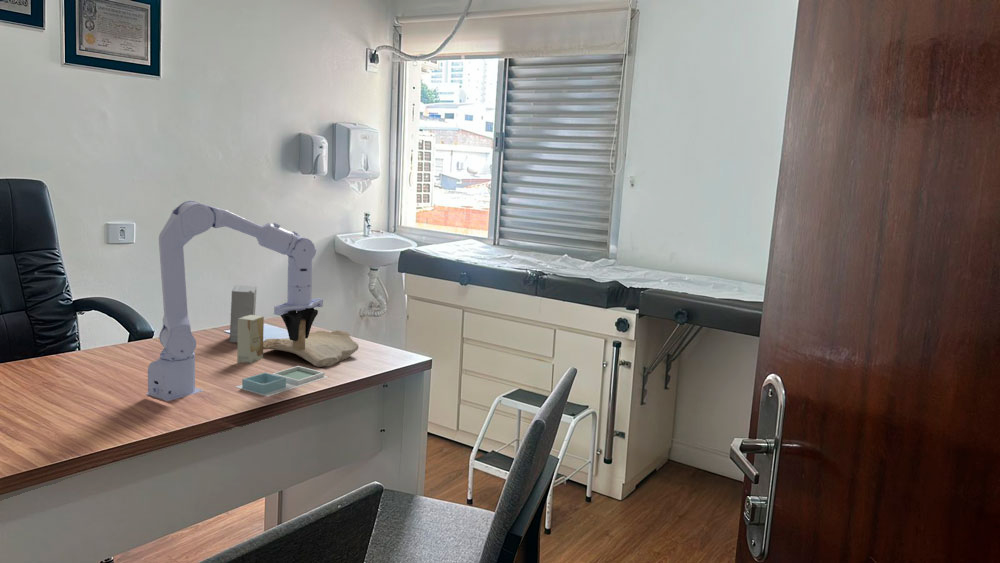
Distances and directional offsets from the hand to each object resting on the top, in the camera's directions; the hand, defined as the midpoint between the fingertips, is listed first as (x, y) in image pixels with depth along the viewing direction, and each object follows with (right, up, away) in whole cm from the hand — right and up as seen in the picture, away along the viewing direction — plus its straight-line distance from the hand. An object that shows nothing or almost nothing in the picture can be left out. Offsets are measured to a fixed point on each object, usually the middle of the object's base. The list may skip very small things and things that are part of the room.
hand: (298, 338), depth 177 cm
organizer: (-3, -11, -3) cm, 12 cm away
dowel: (0, -3, 0) cm, 3 cm away
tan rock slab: (-4, -7, +24) cm, 25 cm away
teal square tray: (-6, -12, -8) cm, 15 cm away
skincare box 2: (-17, -7, +14) cm, 23 cm away
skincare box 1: (-27, -3, +35) cm, 44 cm away
